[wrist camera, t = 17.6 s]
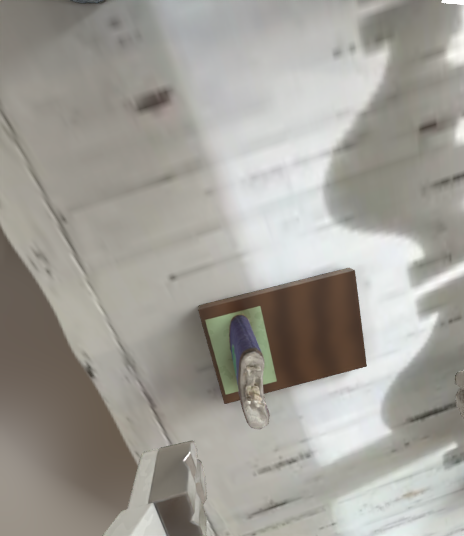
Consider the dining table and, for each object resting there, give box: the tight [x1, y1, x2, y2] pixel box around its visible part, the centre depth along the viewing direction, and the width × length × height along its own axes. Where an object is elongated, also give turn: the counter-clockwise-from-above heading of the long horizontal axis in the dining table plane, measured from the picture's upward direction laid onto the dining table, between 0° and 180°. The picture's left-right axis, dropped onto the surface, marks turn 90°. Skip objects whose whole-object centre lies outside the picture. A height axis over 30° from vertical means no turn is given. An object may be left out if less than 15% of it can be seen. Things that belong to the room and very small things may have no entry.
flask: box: [229, 314, 269, 429], centre depth 32 cm, size 9×3×11 cm, turn 7°
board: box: [198, 268, 367, 404], centre depth 38 cm, size 20×14×2 cm
